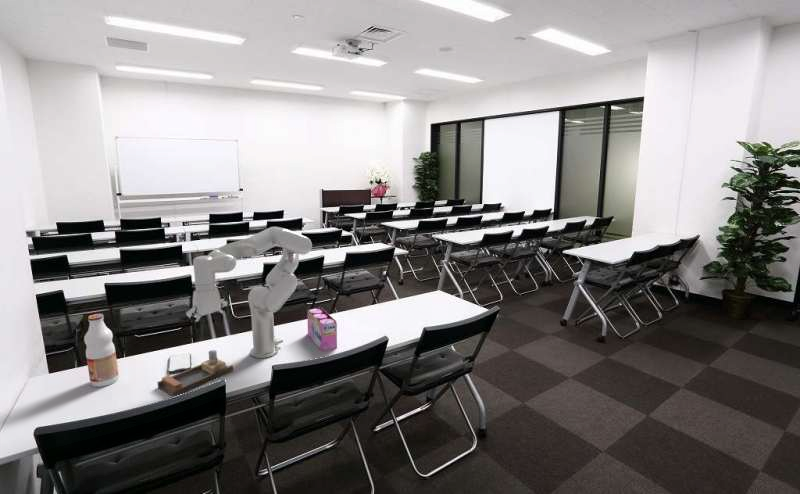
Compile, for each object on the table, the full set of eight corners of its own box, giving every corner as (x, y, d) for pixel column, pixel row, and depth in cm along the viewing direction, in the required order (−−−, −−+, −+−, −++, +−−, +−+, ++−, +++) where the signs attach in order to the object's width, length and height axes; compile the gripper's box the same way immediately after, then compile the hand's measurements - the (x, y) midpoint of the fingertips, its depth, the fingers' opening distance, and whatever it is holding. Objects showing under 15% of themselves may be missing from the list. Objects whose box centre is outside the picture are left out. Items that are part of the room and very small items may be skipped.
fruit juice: (110, 387, 163) (101, 320, 157) (85, 388, 162) (74, 320, 156) (123, 375, 172) (115, 311, 166) (99, 375, 171) (90, 311, 165)
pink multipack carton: (306, 333, 216) (305, 308, 213) (321, 330, 220) (320, 305, 217) (321, 351, 196) (321, 324, 193) (337, 347, 200) (337, 321, 197)
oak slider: (215, 363, 180) (213, 346, 178) (226, 369, 175) (224, 351, 174) (202, 369, 175) (200, 351, 173) (212, 374, 171) (211, 357, 169)
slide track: (217, 363, 183) (216, 354, 182) (233, 371, 176) (232, 362, 175) (158, 387, 163) (157, 378, 162) (173, 398, 156) (172, 388, 155)
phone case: (169, 359, 187) (168, 375, 173) (168, 356, 186) (167, 372, 172) (191, 356, 191) (191, 371, 177) (190, 352, 190) (191, 367, 176)
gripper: (220, 280, 177) (223, 317, 180) (179, 289, 163) (183, 330, 167) (230, 283, 173) (233, 321, 176) (189, 293, 159) (193, 335, 162)
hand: (209, 326), depth 171 cm, fingers open, 9 cm apart
